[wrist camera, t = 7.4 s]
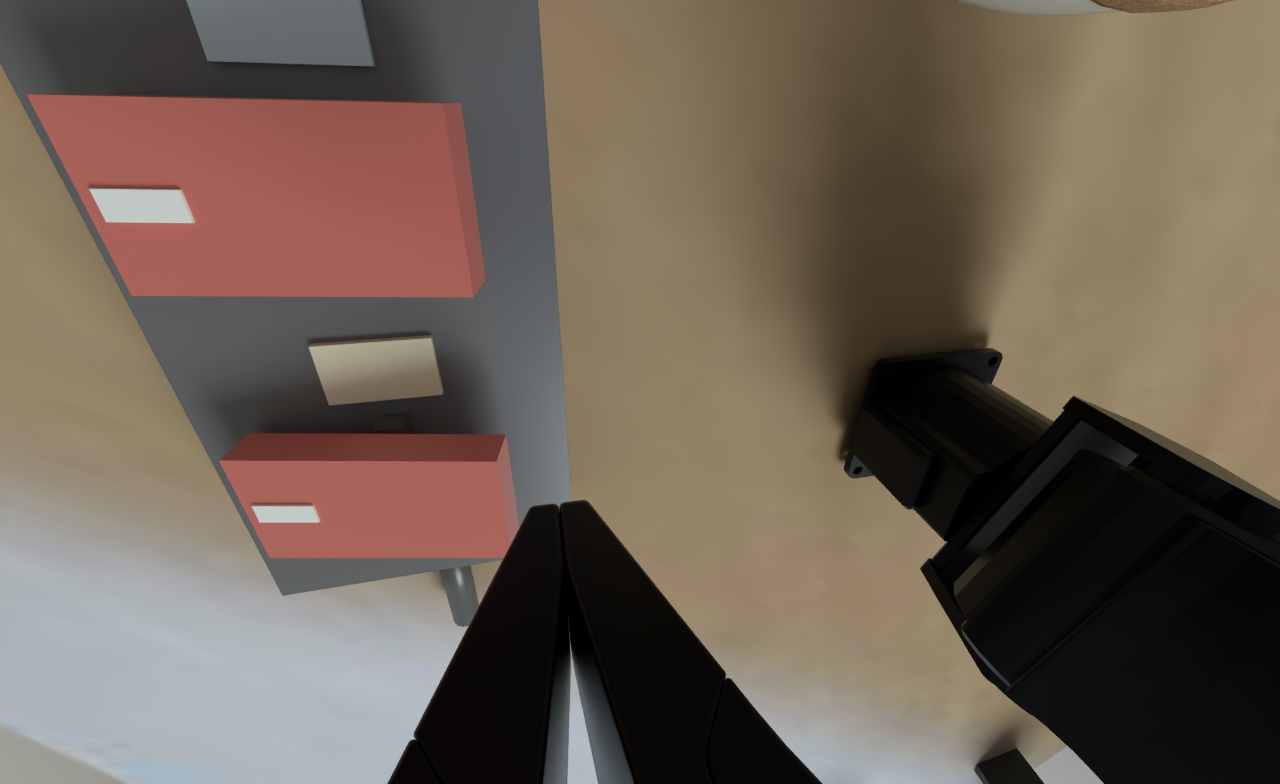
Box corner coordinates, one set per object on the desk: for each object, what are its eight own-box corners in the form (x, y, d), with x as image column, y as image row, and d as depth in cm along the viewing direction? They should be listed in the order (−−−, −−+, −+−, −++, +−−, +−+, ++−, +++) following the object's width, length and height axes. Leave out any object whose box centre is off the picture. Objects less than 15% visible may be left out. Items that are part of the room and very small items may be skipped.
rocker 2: (506, 434, 14) (495, 463, 13) (519, 527, 16) (511, 560, 15) (249, 433, 14) (216, 462, 13) (293, 527, 16) (268, 560, 14)
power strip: (482, -636, 9) (466, -1135, 5) (572, 578, 25) (583, 659, 22) (-284, -872, 7) (-1174, -1955, 3) (355, 616, 23) (328, 712, 20)
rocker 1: (460, 102, 10) (441, 103, 9) (486, 279, 12) (472, 298, 11) (89, 94, 10) (22, 94, 9) (175, 277, 11) (128, 297, 10)
